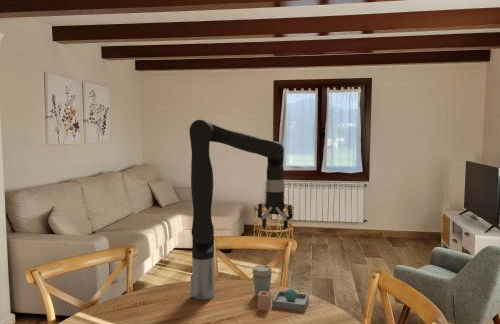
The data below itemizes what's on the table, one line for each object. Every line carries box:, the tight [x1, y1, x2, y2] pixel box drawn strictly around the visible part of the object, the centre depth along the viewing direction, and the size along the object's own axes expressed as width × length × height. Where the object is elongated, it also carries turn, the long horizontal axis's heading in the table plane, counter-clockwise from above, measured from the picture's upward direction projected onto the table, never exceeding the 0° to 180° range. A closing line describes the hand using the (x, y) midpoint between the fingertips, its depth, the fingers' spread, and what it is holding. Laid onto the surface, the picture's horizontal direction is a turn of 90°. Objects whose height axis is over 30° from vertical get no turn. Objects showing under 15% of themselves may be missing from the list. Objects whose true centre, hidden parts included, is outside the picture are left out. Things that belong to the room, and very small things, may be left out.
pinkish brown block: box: [257, 291, 271, 312], centre depth 161 cm, size 4×4×6 cm
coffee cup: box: [252, 264, 273, 298], centre depth 174 cm, size 8×8×12 cm
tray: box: [271, 290, 310, 312], centre depth 165 cm, size 13×11×3 cm
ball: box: [285, 288, 298, 301], centre depth 165 cm, size 5×5×5 cm
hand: (274, 228), depth 168 cm, fingers open, 8 cm apart
